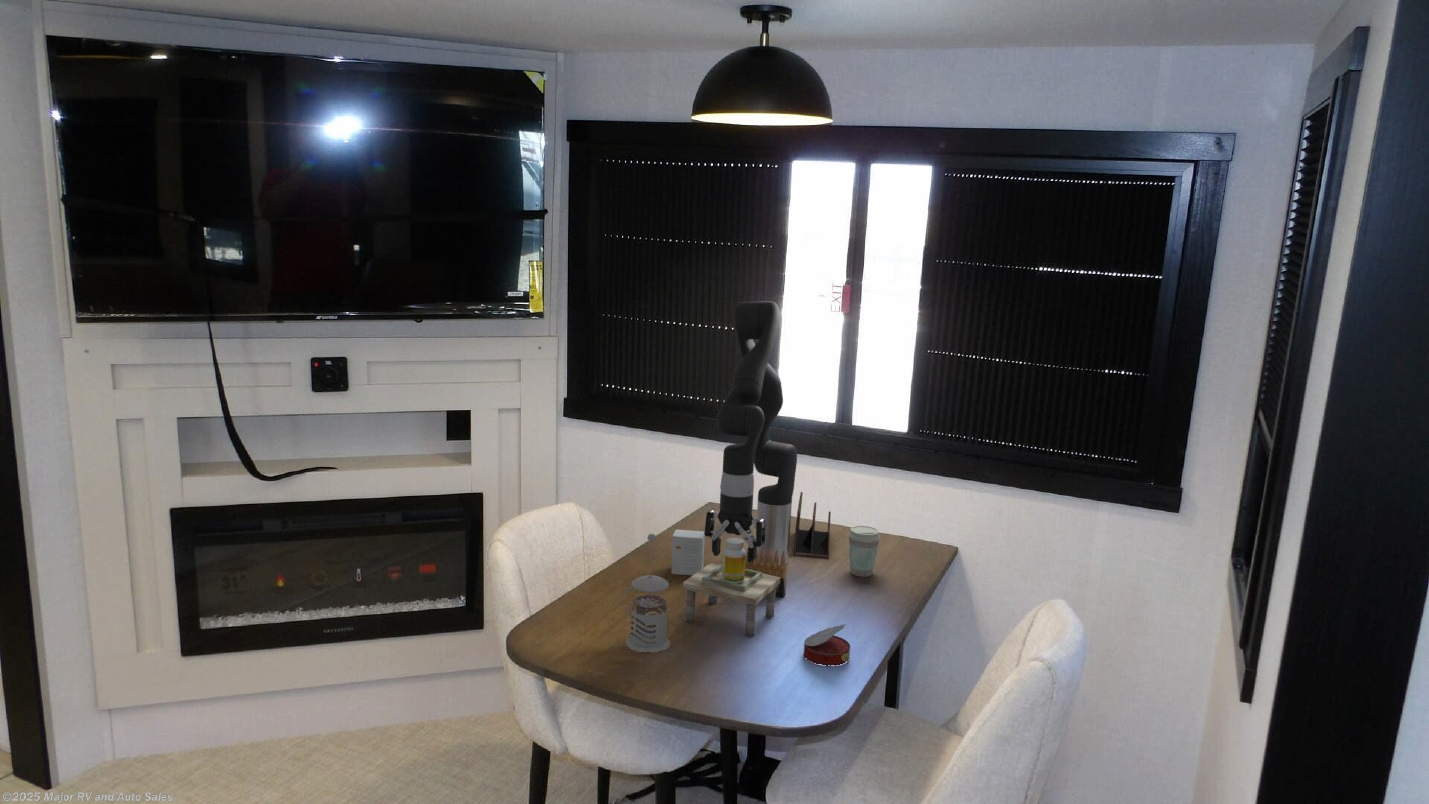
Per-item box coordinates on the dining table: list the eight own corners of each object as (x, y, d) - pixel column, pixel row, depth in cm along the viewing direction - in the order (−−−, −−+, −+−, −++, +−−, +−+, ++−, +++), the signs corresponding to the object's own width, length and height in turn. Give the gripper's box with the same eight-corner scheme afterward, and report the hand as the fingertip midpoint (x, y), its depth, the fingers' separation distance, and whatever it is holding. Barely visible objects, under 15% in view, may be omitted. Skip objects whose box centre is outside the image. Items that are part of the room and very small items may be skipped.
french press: (653, 657, 204) (657, 545, 199) (609, 642, 210) (612, 533, 205) (679, 641, 212) (683, 532, 207) (636, 627, 218) (640, 521, 213)
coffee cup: (841, 575, 255) (844, 532, 253) (849, 565, 263) (852, 523, 261) (873, 581, 252) (876, 537, 250) (880, 570, 260) (884, 528, 258)
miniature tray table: (709, 599, 236) (711, 557, 233) (777, 615, 228) (780, 572, 226) (681, 621, 222) (683, 577, 220) (752, 639, 215) (755, 594, 213)
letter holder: (792, 556, 268) (796, 507, 266) (796, 533, 288) (799, 487, 285) (828, 559, 267) (832, 510, 264) (829, 536, 287) (833, 490, 284)
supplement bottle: (717, 577, 225) (719, 538, 223) (738, 574, 227) (740, 535, 225) (727, 585, 220) (729, 545, 218) (748, 582, 222) (750, 543, 220)
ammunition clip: (785, 595, 240) (788, 550, 238) (783, 598, 238) (786, 552, 236) (744, 588, 243) (746, 543, 241) (742, 591, 241) (744, 546, 239)
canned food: (823, 687, 204) (809, 654, 200) (801, 662, 213) (787, 629, 208) (867, 659, 207) (854, 625, 202) (843, 635, 215) (830, 602, 211)
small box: (703, 569, 255) (705, 531, 253) (701, 576, 250) (703, 538, 248) (673, 566, 256) (675, 528, 254) (670, 574, 251) (672, 535, 249)
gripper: (772, 492, 219) (768, 559, 223) (715, 481, 225) (712, 547, 229) (759, 500, 213) (755, 569, 216) (701, 489, 219) (698, 557, 222)
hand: (733, 558), depth 222 cm, fingers open, 8 cm apart
